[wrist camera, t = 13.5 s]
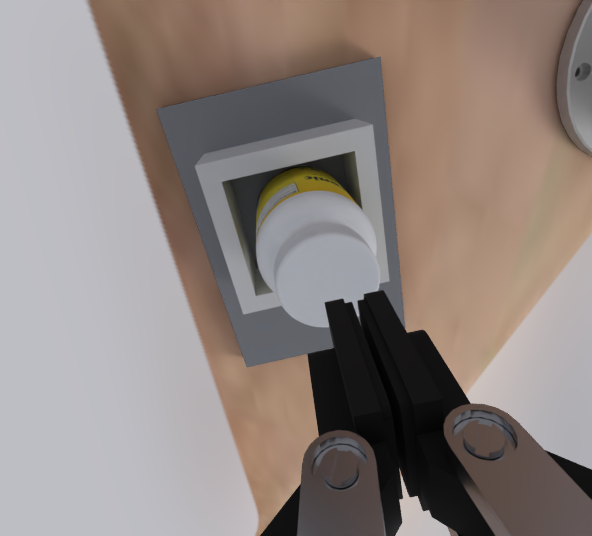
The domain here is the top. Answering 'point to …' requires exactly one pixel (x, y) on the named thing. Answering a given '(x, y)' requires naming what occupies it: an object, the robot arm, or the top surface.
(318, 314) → the supplement bottle
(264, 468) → the top surface
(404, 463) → the robot arm
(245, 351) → the collar stand
